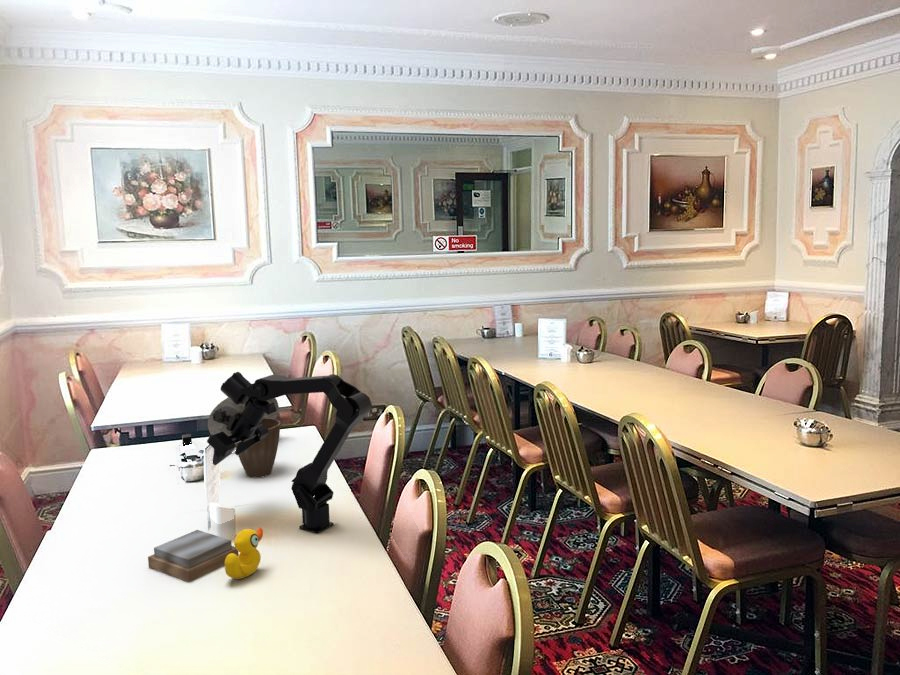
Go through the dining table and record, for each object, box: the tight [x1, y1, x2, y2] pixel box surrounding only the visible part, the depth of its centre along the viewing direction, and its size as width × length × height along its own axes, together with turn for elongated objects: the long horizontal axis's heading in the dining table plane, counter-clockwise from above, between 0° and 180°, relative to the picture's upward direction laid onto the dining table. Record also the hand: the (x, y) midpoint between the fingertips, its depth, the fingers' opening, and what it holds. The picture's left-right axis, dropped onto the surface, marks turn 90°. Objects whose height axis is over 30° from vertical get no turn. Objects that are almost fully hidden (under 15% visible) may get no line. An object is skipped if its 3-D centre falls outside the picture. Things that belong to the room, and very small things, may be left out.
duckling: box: [224, 527, 264, 579], centre depth 168 cm, size 11×5×10 cm, turn 153°
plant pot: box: [235, 418, 281, 478], centre depth 235 cm, size 15×15×16 cm
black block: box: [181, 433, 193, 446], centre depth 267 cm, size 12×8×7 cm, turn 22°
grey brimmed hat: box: [207, 397, 282, 437], centre depth 263 cm, size 25×18×25 cm
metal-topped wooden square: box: [147, 529, 240, 583], centre depth 174 cm, size 14×14×4 cm
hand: (225, 459), depth 202 cm, fingers open, 9 cm apart
